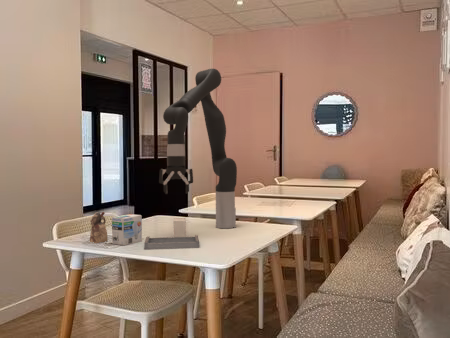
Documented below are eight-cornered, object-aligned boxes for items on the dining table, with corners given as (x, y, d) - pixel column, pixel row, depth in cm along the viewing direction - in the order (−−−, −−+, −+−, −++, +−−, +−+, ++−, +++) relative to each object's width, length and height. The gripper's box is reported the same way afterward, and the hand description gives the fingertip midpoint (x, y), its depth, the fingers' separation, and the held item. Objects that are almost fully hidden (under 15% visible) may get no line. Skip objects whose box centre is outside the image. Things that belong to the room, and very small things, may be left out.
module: (185, 236, 187) (185, 217, 187) (186, 239, 179) (185, 220, 179) (173, 236, 186) (173, 218, 186) (173, 240, 179) (173, 220, 178)
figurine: (88, 240, 179) (88, 211, 179) (106, 239, 182) (105, 210, 181) (90, 243, 173) (89, 213, 172) (108, 242, 175) (108, 212, 175)
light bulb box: (123, 245, 168) (123, 218, 168) (111, 244, 172) (110, 217, 171) (142, 241, 177) (142, 214, 177) (130, 239, 181) (130, 213, 180)
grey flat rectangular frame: (197, 241, 176) (197, 235, 175) (199, 247, 164) (199, 241, 164) (146, 242, 173) (146, 236, 173) (144, 249, 162) (144, 242, 161)
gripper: (193, 155, 187) (193, 192, 187) (159, 155, 186) (160, 192, 187) (192, 155, 179) (193, 194, 180) (158, 155, 178) (158, 194, 179)
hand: (176, 193), depth 183 cm, fingers open, 8 cm apart
